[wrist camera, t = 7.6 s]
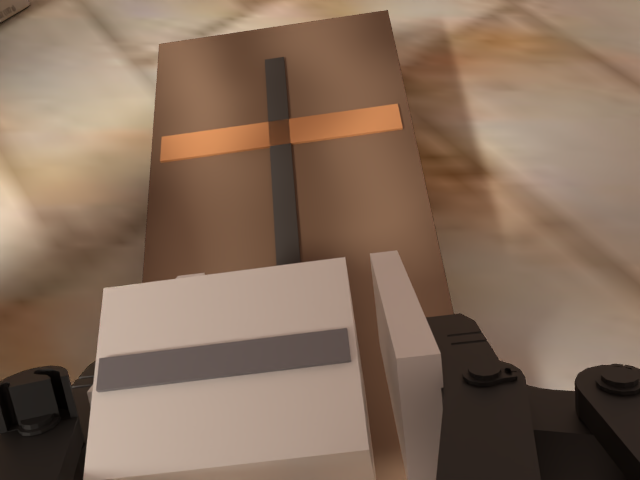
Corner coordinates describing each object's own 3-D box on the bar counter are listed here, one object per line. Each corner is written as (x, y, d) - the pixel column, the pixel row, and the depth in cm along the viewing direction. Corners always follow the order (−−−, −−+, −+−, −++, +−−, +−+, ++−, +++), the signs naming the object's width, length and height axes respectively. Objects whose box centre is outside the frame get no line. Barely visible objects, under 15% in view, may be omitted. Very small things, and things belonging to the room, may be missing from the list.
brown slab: (144, 940, 15) (88, 1020, 12) (180, 92, 29) (158, 42, 26) (561, 909, 14) (600, 985, 11) (388, 62, 28) (387, 8, 26)
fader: (228, 531, 16) (79, 480, 8) (227, 415, 17) (100, 285, 10) (381, 514, 15) (369, 447, 8) (366, 398, 17) (344, 253, 10)
